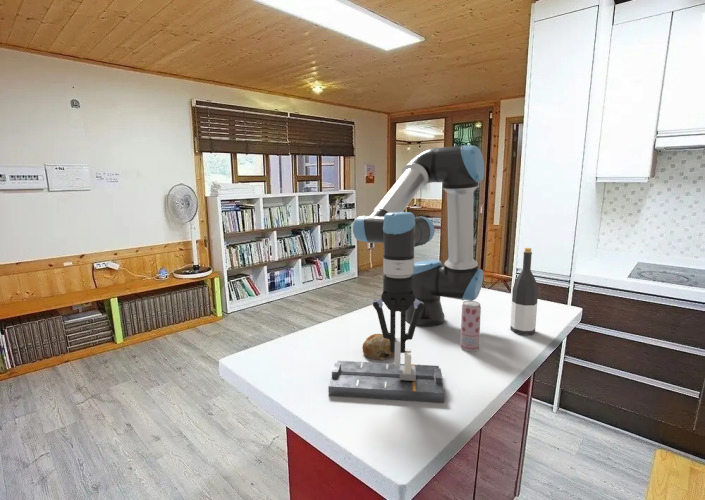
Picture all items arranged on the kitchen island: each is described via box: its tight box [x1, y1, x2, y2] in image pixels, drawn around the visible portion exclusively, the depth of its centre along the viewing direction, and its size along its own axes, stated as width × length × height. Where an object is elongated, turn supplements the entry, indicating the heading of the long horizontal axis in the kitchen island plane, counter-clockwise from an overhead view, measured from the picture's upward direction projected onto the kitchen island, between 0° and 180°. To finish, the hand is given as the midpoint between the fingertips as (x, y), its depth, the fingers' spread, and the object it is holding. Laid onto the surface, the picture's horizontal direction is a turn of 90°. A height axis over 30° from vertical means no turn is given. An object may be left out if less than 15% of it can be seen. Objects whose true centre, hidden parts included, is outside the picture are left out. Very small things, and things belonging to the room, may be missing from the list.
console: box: [327, 360, 445, 404], centre depth 97 cm, size 28×14×4 cm, turn 82°
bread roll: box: [361, 333, 395, 361], centre depth 115 cm, size 10×10×8 cm
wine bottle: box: [509, 247, 539, 336], centre depth 130 cm, size 8×8×30 cm
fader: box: [400, 347, 416, 381], centre depth 95 cm, size 4×5×7 cm
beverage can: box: [459, 300, 482, 353], centre depth 118 cm, size 6×6×15 cm
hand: (397, 363), depth 96 cm, fingers closed
